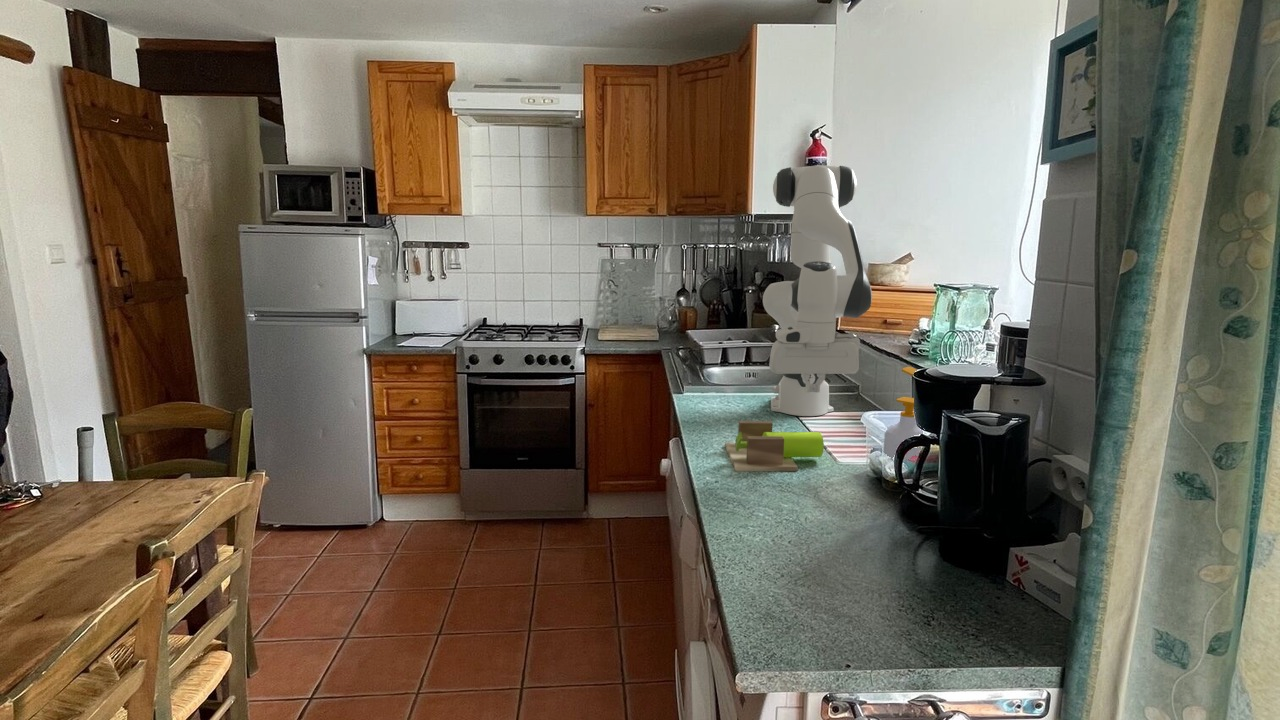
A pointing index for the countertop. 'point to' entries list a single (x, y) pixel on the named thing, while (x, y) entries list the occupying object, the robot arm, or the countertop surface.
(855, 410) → the countertop surface
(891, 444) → the soap bottle
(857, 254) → the robot arm
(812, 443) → the soap dispenser
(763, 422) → the u rest
